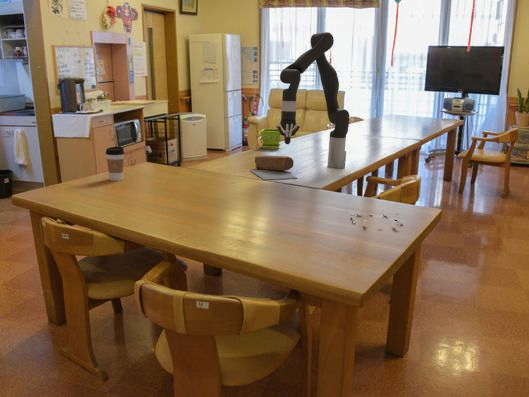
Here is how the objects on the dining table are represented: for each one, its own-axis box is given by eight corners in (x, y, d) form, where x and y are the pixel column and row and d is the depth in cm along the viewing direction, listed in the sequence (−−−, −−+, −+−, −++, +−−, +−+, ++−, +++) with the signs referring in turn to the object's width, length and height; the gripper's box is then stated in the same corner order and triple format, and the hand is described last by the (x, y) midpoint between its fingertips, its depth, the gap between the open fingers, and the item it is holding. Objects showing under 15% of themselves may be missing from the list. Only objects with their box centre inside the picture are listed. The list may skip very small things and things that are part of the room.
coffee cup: (129, 178, 231) (128, 147, 228) (117, 182, 224) (115, 149, 220) (115, 176, 235) (114, 145, 231) (102, 179, 227) (101, 148, 224)
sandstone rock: (283, 157, 253) (253, 155, 265) (283, 171, 254) (253, 169, 266) (294, 155, 261) (265, 154, 273) (294, 169, 263) (265, 167, 275)
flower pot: (262, 146, 347) (263, 128, 343) (282, 147, 345) (282, 129, 342) (259, 149, 333) (260, 130, 330) (279, 150, 331) (280, 131, 328)
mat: (281, 170, 266) (281, 169, 265) (297, 178, 246) (297, 177, 245) (250, 171, 259) (250, 170, 259) (264, 180, 239) (264, 179, 239)
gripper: (297, 109, 252) (296, 142, 256) (273, 109, 247) (272, 143, 252) (303, 110, 245) (301, 144, 250) (279, 110, 241) (278, 145, 245)
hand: (287, 144), depth 251 cm, fingers closed
